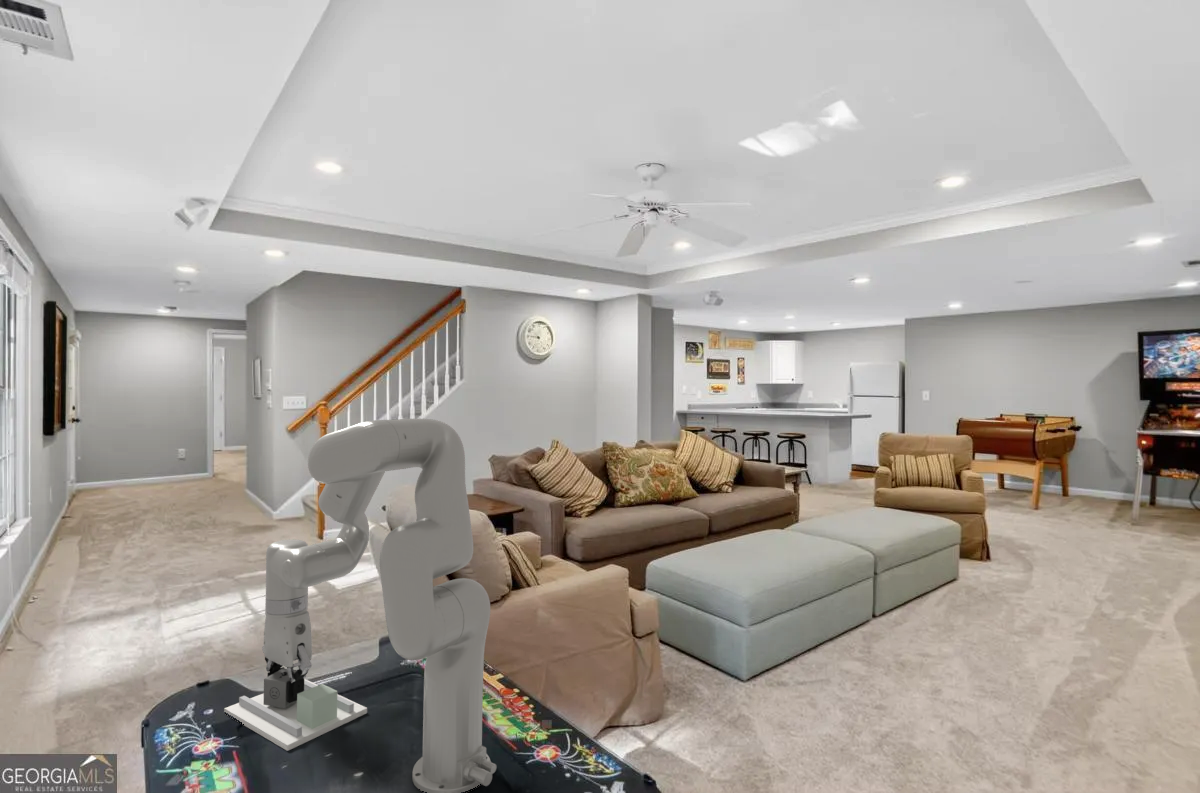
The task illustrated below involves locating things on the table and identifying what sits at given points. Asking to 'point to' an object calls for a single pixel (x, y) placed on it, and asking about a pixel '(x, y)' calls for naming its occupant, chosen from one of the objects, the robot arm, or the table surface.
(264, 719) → the rail board
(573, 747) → the table surface
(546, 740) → the table surface
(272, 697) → the dice cube
